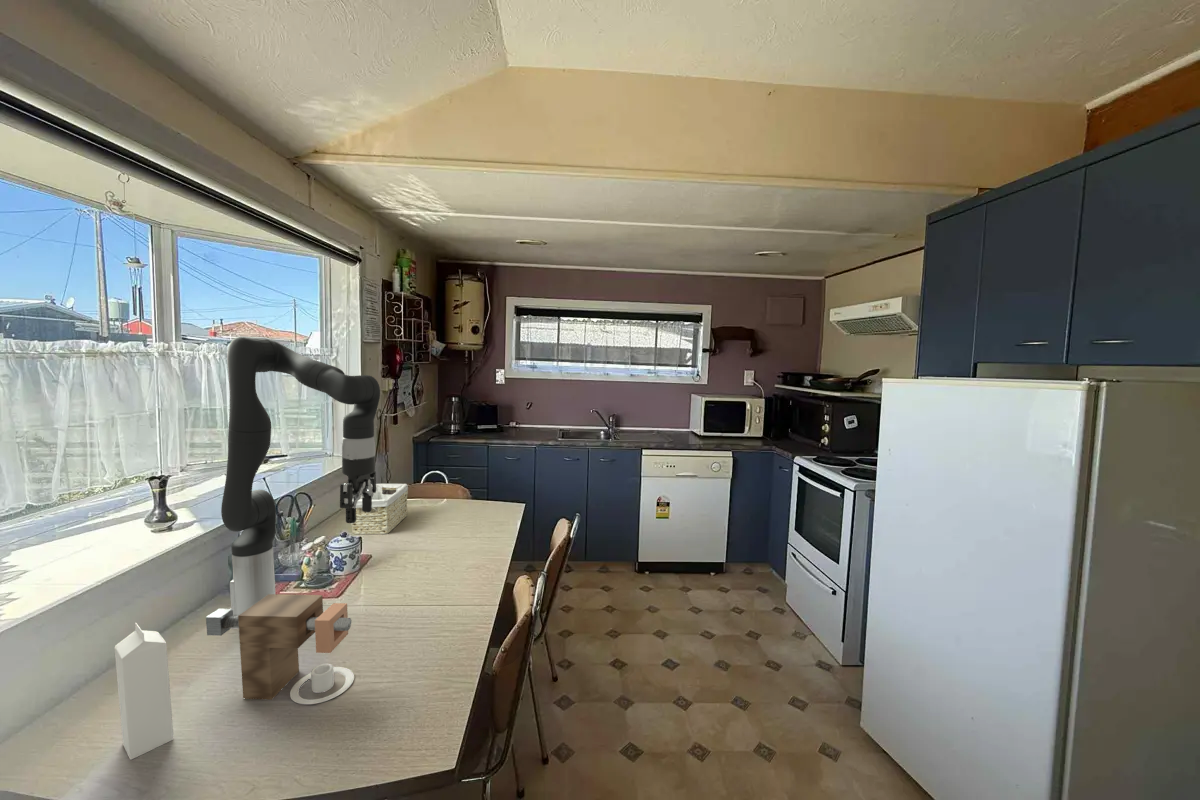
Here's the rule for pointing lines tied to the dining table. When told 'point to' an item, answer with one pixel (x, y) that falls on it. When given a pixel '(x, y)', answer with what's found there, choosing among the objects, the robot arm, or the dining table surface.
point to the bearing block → (274, 641)
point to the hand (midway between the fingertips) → (359, 516)
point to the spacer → (330, 628)
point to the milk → (143, 692)
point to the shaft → (225, 621)
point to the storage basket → (382, 510)
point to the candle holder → (322, 683)
